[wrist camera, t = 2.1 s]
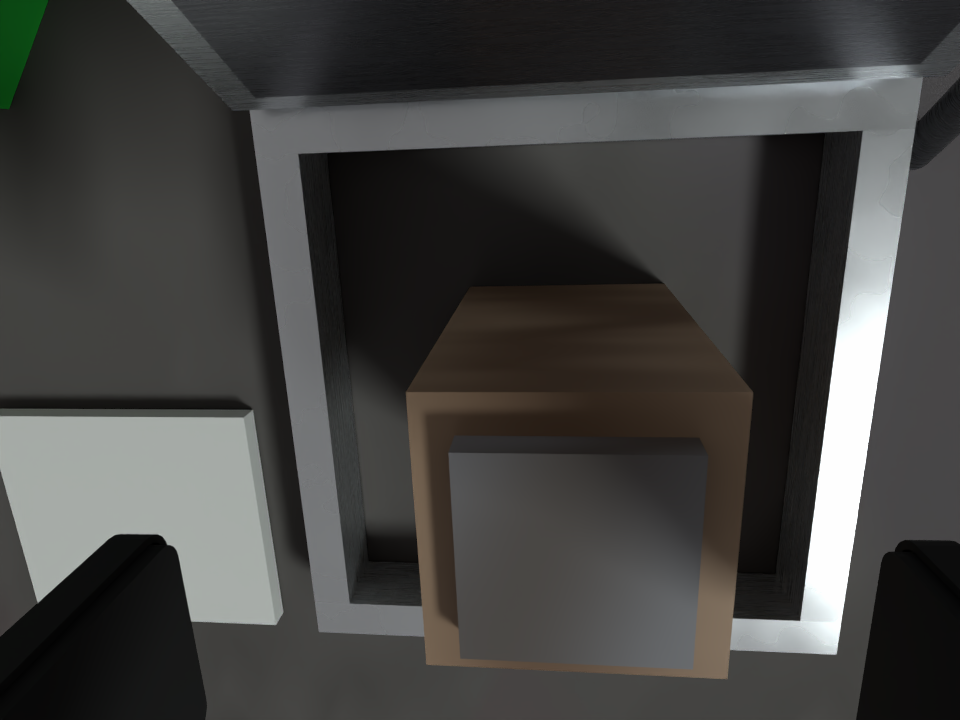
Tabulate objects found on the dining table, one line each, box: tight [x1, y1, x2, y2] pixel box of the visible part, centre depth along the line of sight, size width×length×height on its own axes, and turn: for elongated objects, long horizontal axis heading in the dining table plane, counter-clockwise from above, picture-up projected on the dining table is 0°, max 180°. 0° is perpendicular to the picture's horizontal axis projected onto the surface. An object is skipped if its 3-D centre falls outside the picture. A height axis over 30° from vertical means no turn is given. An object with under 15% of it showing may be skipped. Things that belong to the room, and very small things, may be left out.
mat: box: [0, 409, 283, 625], centre depth 20 cm, size 8×7×1 cm
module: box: [406, 283, 753, 679], centre depth 14 cm, size 5×5×9 cm
